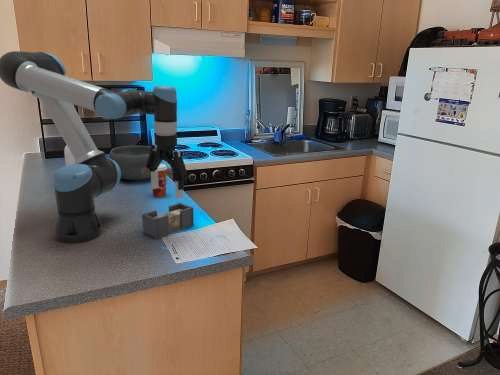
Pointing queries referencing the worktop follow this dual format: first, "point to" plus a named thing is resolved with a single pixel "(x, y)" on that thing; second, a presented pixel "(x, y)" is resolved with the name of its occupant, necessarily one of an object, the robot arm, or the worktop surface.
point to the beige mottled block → (172, 218)
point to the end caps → (167, 221)
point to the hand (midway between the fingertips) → (166, 193)
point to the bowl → (132, 161)
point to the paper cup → (161, 181)
